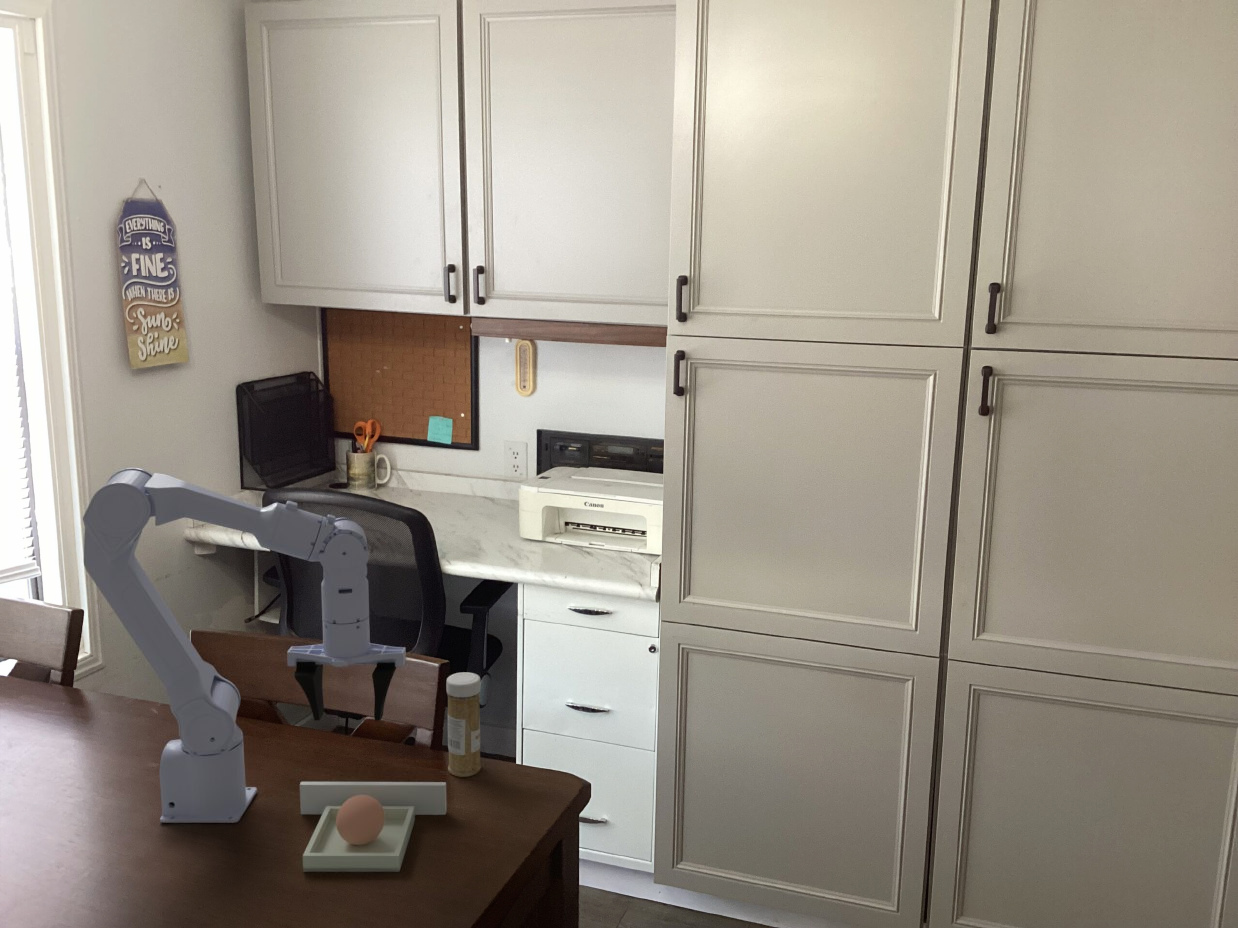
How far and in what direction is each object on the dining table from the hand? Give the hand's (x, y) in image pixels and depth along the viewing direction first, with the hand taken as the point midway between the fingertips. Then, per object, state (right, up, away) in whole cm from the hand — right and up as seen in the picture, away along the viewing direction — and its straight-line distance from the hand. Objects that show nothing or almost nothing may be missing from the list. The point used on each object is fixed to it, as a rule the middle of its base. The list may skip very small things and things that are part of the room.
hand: (348, 717), depth 132 cm
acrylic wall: (+4, -11, -3) cm, 12 cm away
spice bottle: (+14, -9, +8) cm, 19 cm away
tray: (+4, -13, -10) cm, 17 cm away
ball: (+4, -9, -11) cm, 15 cm away
